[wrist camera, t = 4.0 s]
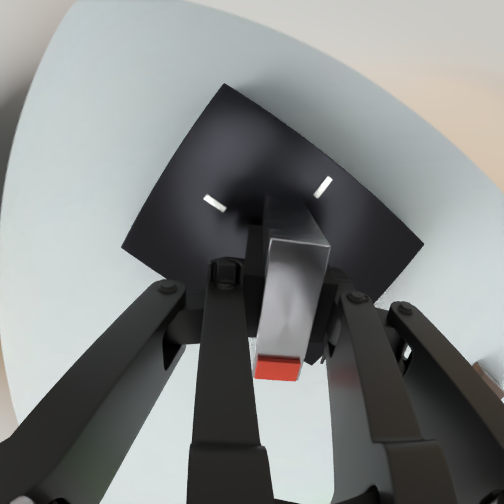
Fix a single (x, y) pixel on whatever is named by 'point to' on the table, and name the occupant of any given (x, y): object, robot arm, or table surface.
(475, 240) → the table surface
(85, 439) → the robot arm
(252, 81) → the table surface
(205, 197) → the panel
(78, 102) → the table surface
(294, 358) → the red-tipped metal bar
